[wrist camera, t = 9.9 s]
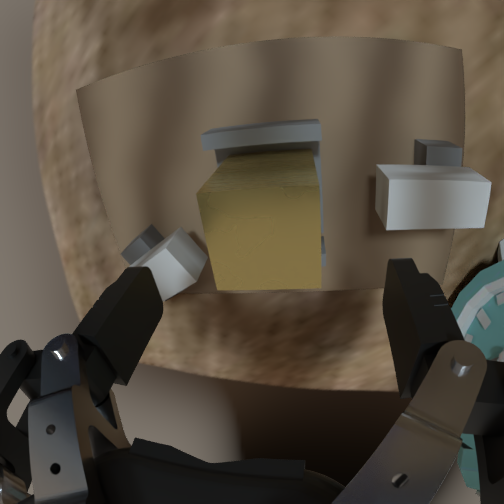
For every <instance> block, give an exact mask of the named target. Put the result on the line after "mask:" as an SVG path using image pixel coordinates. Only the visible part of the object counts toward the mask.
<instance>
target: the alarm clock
mask: <svg viewBox="0 0 504 504" xmlns="http://www.w3.org/2000/svg"><path fill="white" fill-rule="evenodd" d="M497 253H498V263H496V264H494V265H492V266H490V267H488V268H486V269H484V270H482V271H480V272H479V273H478V274H477V275H476V276H475V277H474V278H473V279H472V281H471V282H470V283H469V284H468V285H467V286H466V287H465V288H464V289H463V290H462V291H461V292H460V293H459V295H458V297H457V299H456V301H455V302H454V304H453V306H452V308H451V310H452V312H453V314H454V316H455V319H456V321H457V323H458V325H459V328H460V330H461V332H462V335H463V337H464V339H465V341H467V342H470V343H472V344H474V345H476V346H477V347H478V348H479V349H480V350H481V351H482V352H483V354H484V355H485V358H486V359H487V360H492V361H500V362H504V239H503V240H502V241H500V243H499V248H498V252H497ZM461 438H462V439H463V441H462V445H461V447H460V450H459V452H458V461H457V463H458V465H459V468H460V470H461V473H462V476H463V478H464V481H465V483H466V486H467V487H470V488H473V489H476V490H477V491H476V494H477V495H479V496H480V484H479V473H478V463H477V455H476V448H475V441H474V435H473V434H463V433H462V434H461Z"/></svg>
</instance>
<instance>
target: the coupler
mask: <svg viewBox="0 0 504 504" xmlns="http://www.w3.org/2000/svg"><path fill="white" fill-rule="evenodd" d="M196 196H197V201H198V206H199V211H200V216H201V220H202V225H203V230H204V234H205V239H206V243H207V248H208V252H209V257H210V261H211V266H212V270H213V274H214V279H215V283H216V287H217V290H279V289H314V288H321V215H320V189H319V181H318V176H317V171H316V167H315V162H314V158H313V153H312V149H295V150H279V151H266V152H254V153H243V154H234V155H229V156H228V157H227V158H226V159H225V160H224V161H223V162H222V164H221V165H220V166H219V167H218V168H217V169H216V171H215V172H214V173H213V174H212V175H211V176H210V178H209V179H208V180H207V181H206V182H205V183H204V185H203V186H202V187H201V188H200V189H199V191H198V192H197V193H196Z"/></svg>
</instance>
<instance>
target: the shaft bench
mask: <svg viewBox="0 0 504 504" xmlns="http://www.w3.org/2000/svg"><path fill="white" fill-rule="evenodd" d="M76 92H77V98H78V103H79V108H80V113H81V118H82V123H83V128H84V132H85V137H86V141H87V145H88V149H89V153H90V157H91V161H92V165H93V169H94V173H95V176H96V180H97V183H98V187H99V190H100V194H101V197H102V201H103V204H104V207H105V210H106V214H107V217H108V220H109V223H110V226H111V229H112V232H113V235H114V238H115V241H116V244H117V246H118V249H119V252H120V255H121V258H122V260H123V263H124V266H125V268H127V267H138V266H147V267H149V268H150V269H151V271H152V274H153V277H154V279H155V282H156V285H157V287H158V290H159V293H160V296H161V298H162V301H167V300H168V299H170V298H172V297H173V296H175V295H177V294H178V293H275V292H311V291H337V290H359V289H378V288H384V287H385V280H386V272H387V264H388V260H389V259H396V258H412V259H413V260H414V262H415V264H416V266H417V269H418V271H419V273H428V274H429V275H430V276H432V277H433V278H434V279H435V280H436V281H437V282H438V283H439V284H443V280H444V276H445V272H446V268H447V263H448V259H449V254H450V250H451V245H452V240H453V235H454V229H455V228H484V224H485V219H486V214H487V208H488V203H489V196H490V190H491V182H490V181H489V180H487V179H486V178H484V177H483V176H481V175H480V174H478V173H477V172H475V171H474V170H472V169H471V168H469V167H463V156H464V138H465V87H464V69H463V57H462V50H461V49H456V48H451V47H446V46H440V45H434V44H428V43H421V42H414V41H405V40H396V39H384V38H368V37H304V38H288V39H276V40H266V41H257V42H250V43H242V44H236V45H229V46H223V47H218V48H212V49H207V50H202V51H198V52H193V53H189V54H184V55H180V56H176V57H172V58H168V59H164V60H161V61H157V62H153V63H150V64H147V65H143V66H140V67H137V68H134V69H130V70H127V71H124V72H121V73H119V74H116V75H113V76H110V77H107V78H105V79H102V80H99V81H97V82H94V83H92V84H89V85H87V86H84V87H82V88H79V89H77V90H76ZM295 149H312V153H313V158H314V162H315V167H316V171H317V176H318V181H319V189H320V215H321V288H314V289H279V290H217V287H216V283H215V279H214V274H213V270H212V266H211V261H210V257H209V252H208V248H207V243H206V239H205V234H204V230H203V225H202V220H201V216H200V211H199V206H198V201H197V196H196V193H197V192H198V191H199V189H200V188H201V187H202V186H203V185H204V183H205V182H206V181H207V180H208V179H209V178H210V176H211V175H212V174H213V173H214V172H215V171H216V169H217V168H218V167H219V166H220V165H221V164H222V162H223V161H224V160H225V159H226V158H227V157H228V156H229V155H234V154H243V153H254V152H266V151H279V150H295Z"/></svg>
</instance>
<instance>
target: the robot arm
mask: <svg viewBox="0 0 504 504" xmlns="http://www.w3.org/2000/svg"><path fill="white" fill-rule="evenodd" d="M162 314H163V301H162V298H161V296H160V293H159V290H158V287H157V285H156V282H155V279H154V277H153V274H152V271H151V269H150V268H149V267H147V266H138V267H127V268H126V269H125V270H124V272H123V273H122V274H121V276H120V277H119V278H118V279H117V281H115V282H114V283H113V284H111V285H110V286H109V287H108V288H106V289H105V291H104V292H103V293H102V295H101V296H100V297H99V300H97V301H96V302H95V304H94V305H93V308H91V309H90V310H89V312H88V313H87V314H86V316H85V317H84V318H83V320H82V321H81V322H80V324H79V325H78V327H77V328H76V329H75V331H74V332H73V334H61V335H59V336H56V337H55V338H53V339H52V340H51V341H49V342H48V343H47V345H46V346H45V348H44V349H43V350H37V351H32V350H31V349H30V347H29V346H28V344H27V343H26V341H24V340H16V341H14V342H12V343H10V344H9V345H8V346H7V347H6V348H5V349H4V350H3V351H2V353H1V354H0V504H429V503H430V502H431V500H432V498H433V497H434V495H435V494H436V492H437V490H438V489H439V487H440V485H441V483H442V482H443V480H444V478H445V477H446V475H447V473H448V471H449V469H450V468H451V466H452V464H453V462H454V460H455V458H456V456H457V454H458V452H459V450H460V447H461V445H462V441H463V439H462V438H461V434H462V433H463V434H473V435H474V441H475V448H476V455H477V463H478V473H479V484H480V501H481V504H504V362H500V361H492V360H487V359H486V358H485V355H484V354H483V352H482V351H481V350H480V349H479V348H478V347H477V346H476V345H474V344H472V343H470V342H467V341H465V339H464V337H463V335H462V332H461V330H460V328H459V325H458V323H457V321H456V319H455V316H454V314H453V312H452V310H451V308H450V306H448V301H447V299H446V297H445V296H444V293H443V291H442V289H441V287H440V285H439V283H438V282H437V281H436V280H435V279H434V278H433V277H432V276H430V275H429V274H428V273H419V271H418V269H417V266H416V264H415V262H414V260H413V259H412V258H396V259H389V260H388V264H387V272H386V280H385V287H384V294H383V316H384V320H385V325H386V329H387V333H388V338H389V342H390V347H391V352H392V357H393V361H394V367H395V372H396V377H397V383H398V389H399V394H400V399H404V398H411V397H412V401H411V402H410V404H409V406H408V407H407V409H406V410H405V411H404V412H403V413H402V414H401V415H400V417H399V418H398V420H397V421H396V423H395V424H394V426H393V427H392V429H391V430H390V431H389V433H388V434H387V436H386V437H385V438H384V440H383V441H382V443H381V444H380V445H379V447H378V448H377V449H376V451H375V452H374V454H373V455H372V456H371V457H370V459H369V460H368V461H367V462H366V464H365V465H364V466H363V467H362V469H361V470H360V471H359V472H358V474H357V475H356V476H355V477H354V479H353V480H352V481H351V482H350V483H349V484H348V485H347V487H346V488H345V487H344V486H342V485H341V484H339V483H338V482H336V481H335V480H333V479H331V478H329V477H327V476H324V475H321V474H319V473H316V472H312V471H309V470H305V460H279V459H262V458H257V459H249V460H241V461H234V462H223V463H208V462H205V461H203V460H200V459H198V458H196V457H194V456H191V455H189V454H187V453H185V452H182V451H180V450H178V449H176V448H174V447H172V446H169V445H164V444H159V443H155V442H151V441H147V440H143V439H139V438H135V439H134V441H133V444H132V446H131V444H130V443H129V441H128V440H127V438H126V436H125V433H124V430H123V427H122V422H121V419H120V415H119V411H118V407H117V403H116V399H115V395H114V393H113V391H112V389H111V387H112V385H113V383H115V384H120V385H125V386H127V384H128V382H129V380H130V378H131V376H132V374H133V372H134V370H135V368H136V366H137V364H138V362H139V360H140V358H141V356H142V354H143V352H144V350H145V348H146V346H147V344H148V342H149V340H150V338H151V336H152V334H153V333H154V331H155V329H156V327H157V325H158V323H159V321H160V319H161V317H162ZM19 388H20V389H21V390H22V391H23V392H24V393H25V394H26V395H27V397H28V398H29V399H30V401H29V403H28V405H27V407H26V409H25V410H24V412H23V414H22V416H21V418H20V420H19V422H18V424H17V426H16V427H14V426H13V425H12V424H11V423H10V422H9V421H8V419H7V409H8V407H9V405H10V403H11V401H12V400H13V398H14V396H15V394H16V393H17V391H18V389H19ZM31 481H32V483H33V490H34V494H33V495H31V494H29V493H27V492H28V489H29V487H30V484H31Z"/></svg>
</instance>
